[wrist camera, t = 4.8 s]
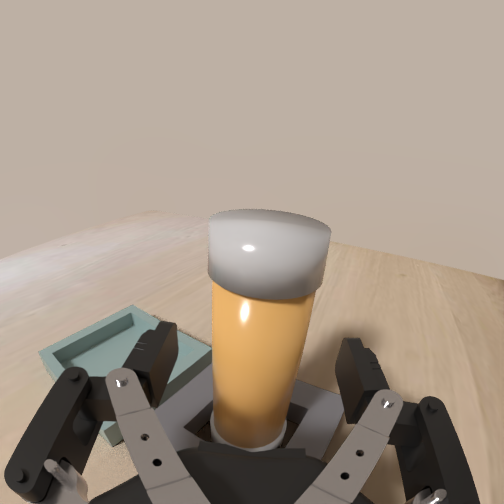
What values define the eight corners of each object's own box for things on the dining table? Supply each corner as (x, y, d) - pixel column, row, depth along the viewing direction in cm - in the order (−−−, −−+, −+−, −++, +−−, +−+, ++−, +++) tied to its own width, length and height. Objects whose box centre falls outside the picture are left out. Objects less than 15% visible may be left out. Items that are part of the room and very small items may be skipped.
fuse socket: (226, 367, 22) (226, 349, 21) (341, 414, 17) (349, 397, 17) (138, 443, 14) (131, 428, 13) (279, 527, 9) (285, 520, 8)
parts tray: (135, 321, 26) (132, 304, 26) (212, 366, 22) (212, 347, 21) (46, 369, 17) (38, 351, 17) (112, 446, 13) (103, 431, 12)
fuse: (235, 402, 18) (249, 205, 14) (293, 427, 16) (342, 223, 12) (196, 442, 15) (182, 221, 10) (260, 476, 13) (307, 252, 8)
